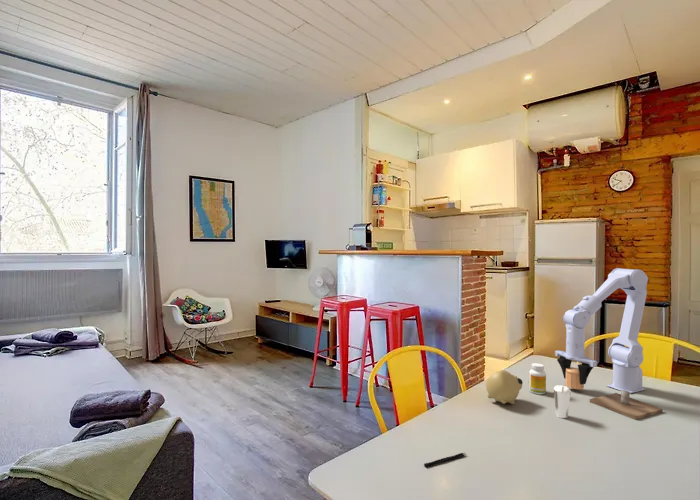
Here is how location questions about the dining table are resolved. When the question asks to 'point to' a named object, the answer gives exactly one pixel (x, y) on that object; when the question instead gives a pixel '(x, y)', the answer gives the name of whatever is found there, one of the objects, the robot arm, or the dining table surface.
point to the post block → (626, 405)
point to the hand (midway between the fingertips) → (574, 381)
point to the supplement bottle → (537, 379)
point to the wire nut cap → (573, 378)
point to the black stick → (444, 460)
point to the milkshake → (562, 400)
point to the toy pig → (503, 386)
